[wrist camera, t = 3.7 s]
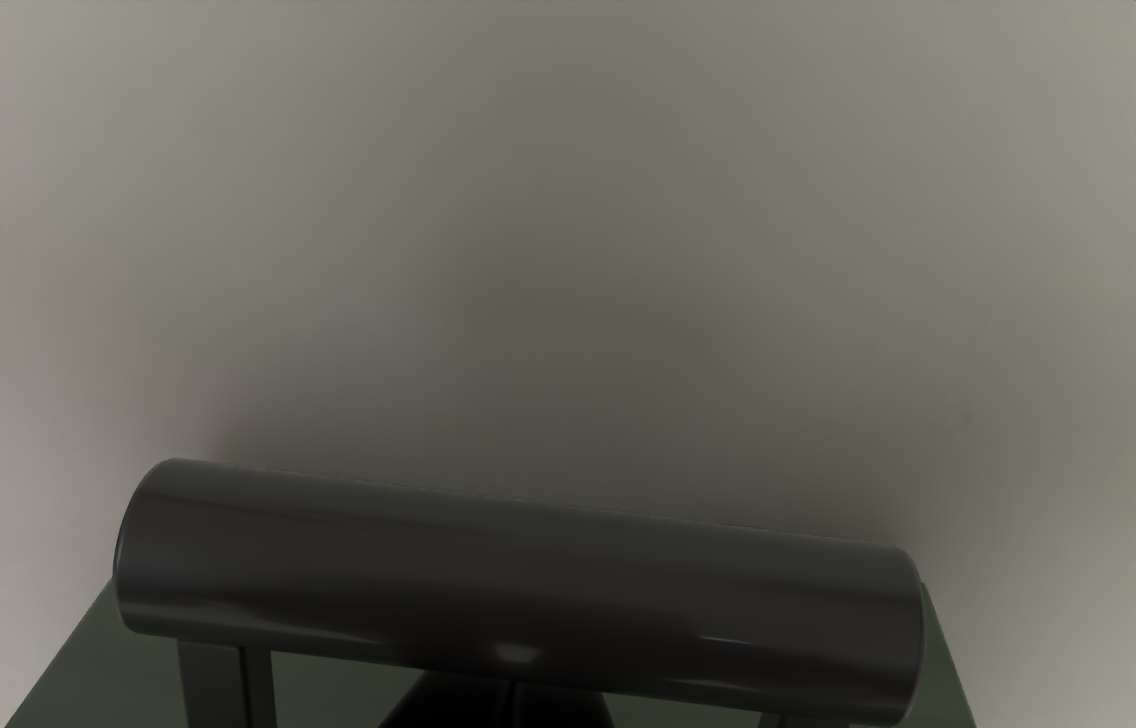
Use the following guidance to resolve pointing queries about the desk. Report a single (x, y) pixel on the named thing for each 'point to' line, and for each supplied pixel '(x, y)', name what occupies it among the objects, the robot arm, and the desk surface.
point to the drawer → (483, 612)
